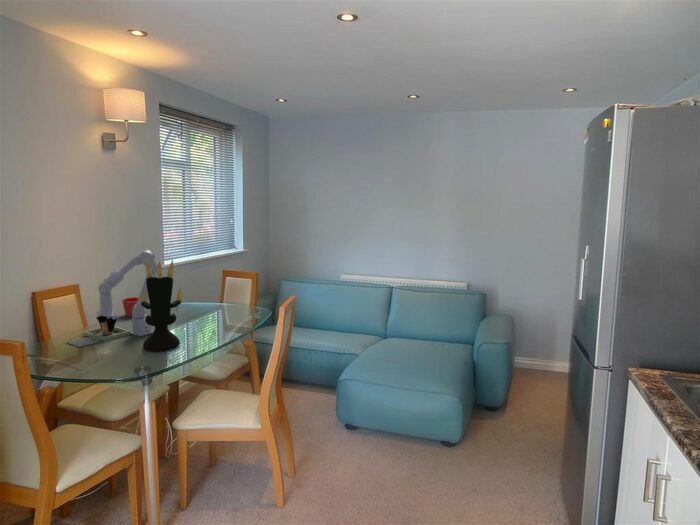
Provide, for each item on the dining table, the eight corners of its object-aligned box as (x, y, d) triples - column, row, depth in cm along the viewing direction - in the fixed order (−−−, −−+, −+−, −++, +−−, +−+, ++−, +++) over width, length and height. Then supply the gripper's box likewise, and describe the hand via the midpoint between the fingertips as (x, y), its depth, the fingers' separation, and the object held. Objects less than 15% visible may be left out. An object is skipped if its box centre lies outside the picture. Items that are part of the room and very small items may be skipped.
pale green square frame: (130, 334, 253) (130, 330, 253) (103, 341, 241) (103, 337, 240) (111, 328, 262) (111, 325, 262) (83, 335, 249) (83, 331, 249)
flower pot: (135, 318, 285) (134, 301, 284) (119, 316, 287) (118, 300, 286) (146, 313, 295) (146, 298, 294) (130, 312, 298) (129, 296, 296)
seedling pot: (116, 333, 252) (115, 321, 251) (105, 335, 247) (105, 324, 247) (109, 331, 255) (108, 320, 254) (98, 333, 250) (98, 322, 250)
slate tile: (101, 342, 240) (101, 341, 240) (79, 347, 231) (79, 346, 231) (88, 337, 246) (88, 337, 245) (66, 343, 236) (66, 342, 236)
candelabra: (182, 340, 247) (181, 252, 241) (184, 354, 227) (182, 259, 220) (142, 343, 241) (139, 253, 234) (140, 357, 220) (136, 259, 213)
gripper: (90, 304, 249) (91, 329, 251) (107, 308, 242) (108, 334, 244) (103, 301, 255) (104, 326, 257) (120, 305, 248) (121, 331, 250)
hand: (107, 330), depth 251 cm, fingers closed on seedling pot, 6 cm apart
